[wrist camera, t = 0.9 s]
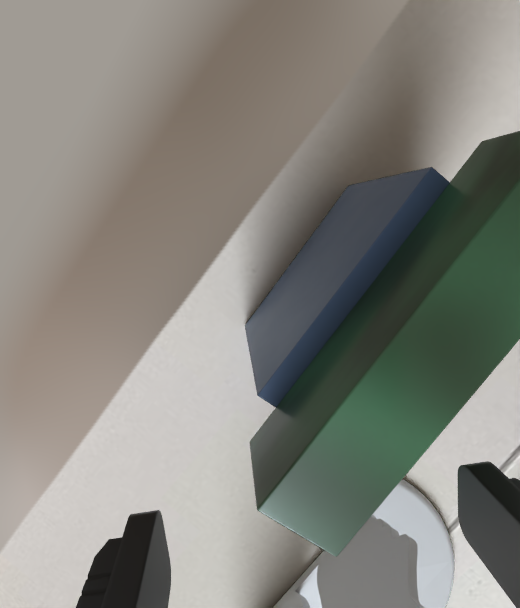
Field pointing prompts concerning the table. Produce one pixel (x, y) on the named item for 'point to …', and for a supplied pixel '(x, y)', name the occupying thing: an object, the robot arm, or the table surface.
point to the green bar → (399, 359)
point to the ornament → (384, 561)
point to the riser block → (334, 274)
